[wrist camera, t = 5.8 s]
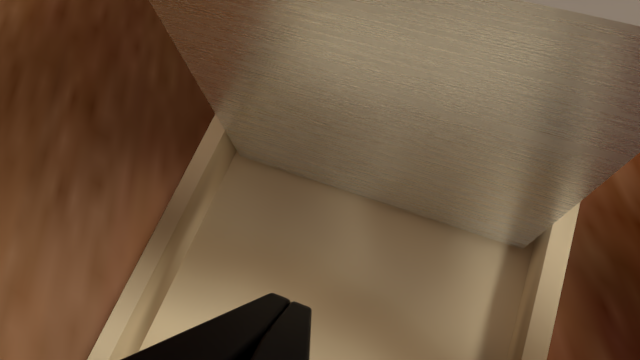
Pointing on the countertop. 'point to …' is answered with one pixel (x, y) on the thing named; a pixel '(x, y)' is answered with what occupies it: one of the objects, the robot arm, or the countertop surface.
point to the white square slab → (426, 98)
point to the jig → (335, 269)
